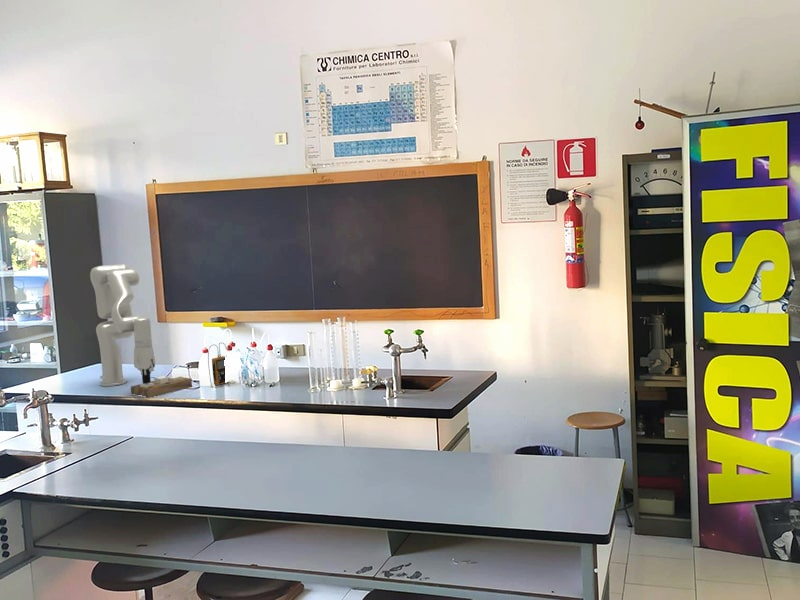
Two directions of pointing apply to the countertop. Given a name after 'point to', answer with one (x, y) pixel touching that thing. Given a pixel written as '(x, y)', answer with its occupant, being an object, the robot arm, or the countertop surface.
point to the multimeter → (218, 369)
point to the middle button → (161, 380)
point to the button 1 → (147, 385)
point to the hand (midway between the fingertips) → (146, 382)
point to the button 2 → (175, 377)
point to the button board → (162, 387)
